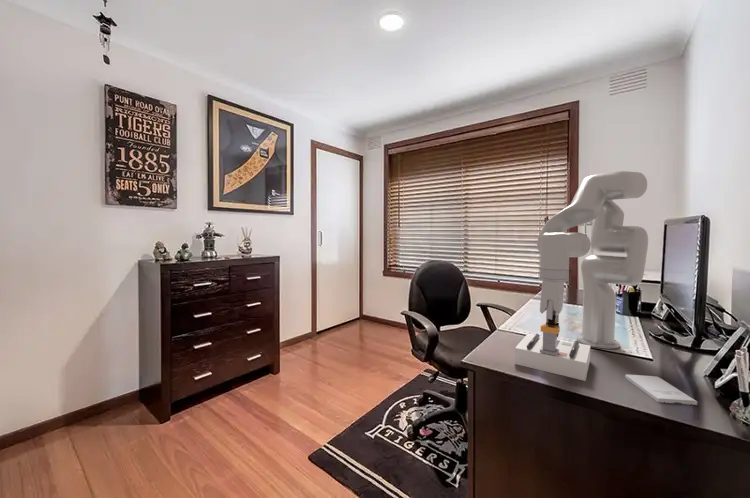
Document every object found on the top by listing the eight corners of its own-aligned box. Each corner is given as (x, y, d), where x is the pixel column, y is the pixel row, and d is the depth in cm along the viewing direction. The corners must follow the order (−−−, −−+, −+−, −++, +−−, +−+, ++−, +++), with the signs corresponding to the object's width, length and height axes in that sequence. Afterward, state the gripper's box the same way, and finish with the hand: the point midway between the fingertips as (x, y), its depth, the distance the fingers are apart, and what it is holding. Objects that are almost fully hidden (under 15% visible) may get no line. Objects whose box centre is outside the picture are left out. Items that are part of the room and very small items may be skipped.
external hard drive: (658, 382, 85) (697, 407, 73) (624, 379, 87) (657, 404, 75) (658, 376, 85) (697, 400, 73) (625, 374, 87) (658, 397, 74)
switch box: (526, 348, 109) (527, 330, 108) (589, 361, 98) (590, 341, 97) (514, 363, 96) (515, 343, 96) (585, 380, 85) (586, 358, 85)
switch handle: (542, 348, 94) (542, 323, 94) (559, 352, 91) (559, 325, 91) (539, 352, 91) (540, 326, 91) (557, 356, 89) (557, 329, 88)
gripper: (544, 271, 101) (542, 327, 102) (534, 276, 90) (532, 340, 91) (571, 273, 97) (569, 331, 98) (565, 279, 85) (563, 345, 86)
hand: (552, 335), depth 94 cm, fingers closed
